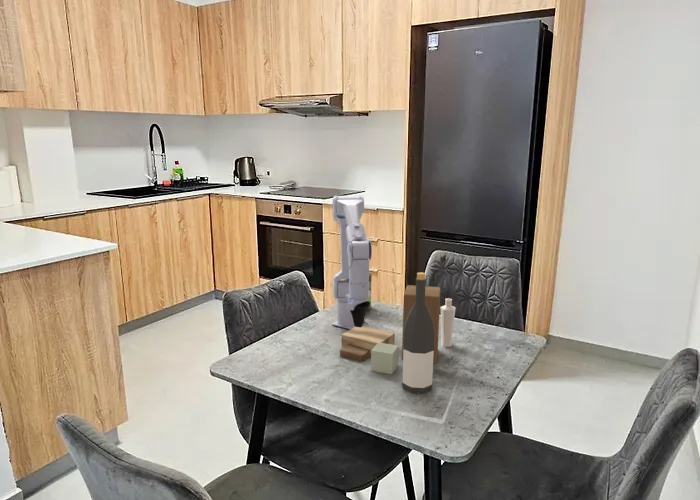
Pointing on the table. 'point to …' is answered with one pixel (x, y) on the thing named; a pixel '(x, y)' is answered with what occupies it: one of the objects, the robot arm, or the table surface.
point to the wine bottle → (418, 344)
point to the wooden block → (432, 305)
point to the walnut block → (355, 352)
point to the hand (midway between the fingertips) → (358, 326)
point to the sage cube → (384, 358)
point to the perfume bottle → (447, 323)
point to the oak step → (367, 337)
